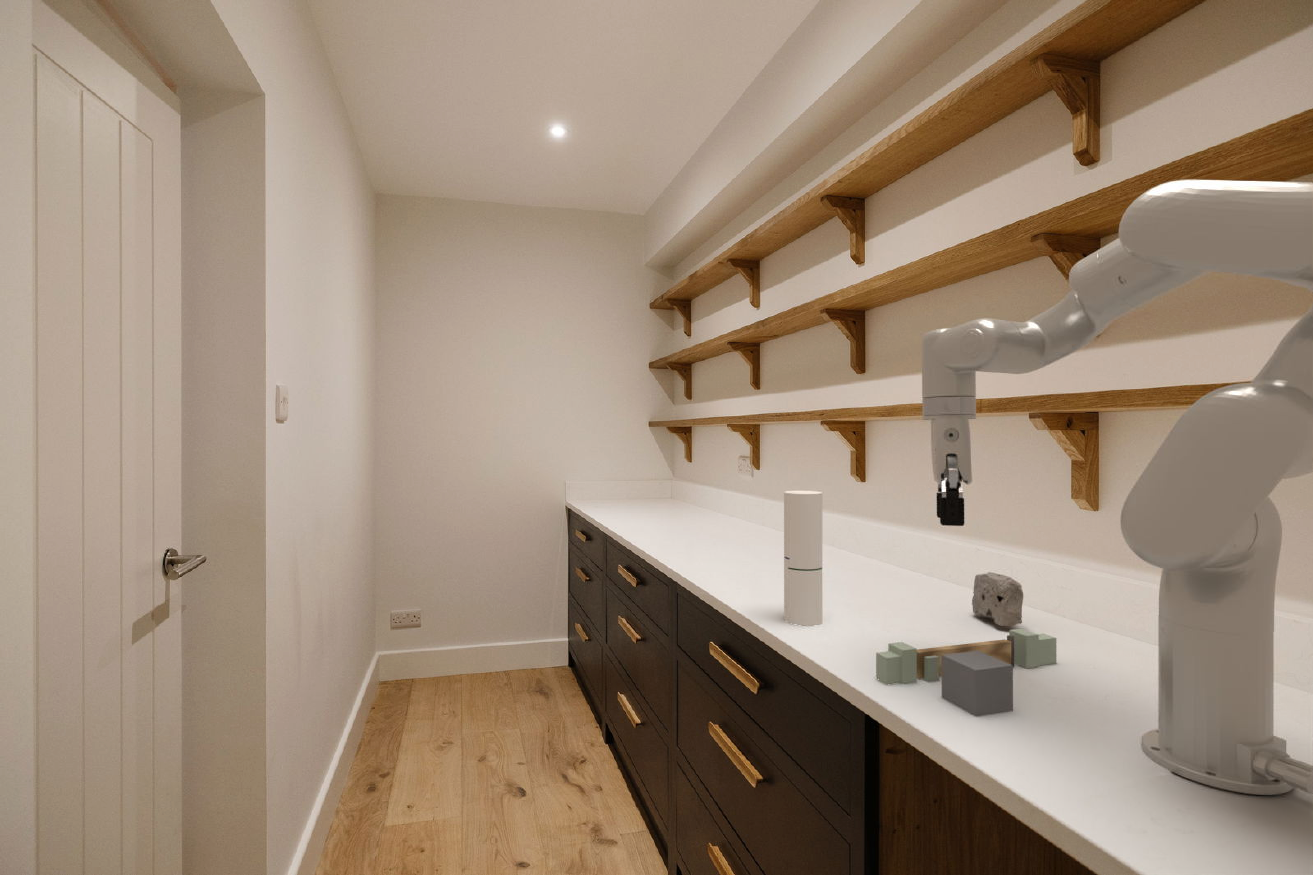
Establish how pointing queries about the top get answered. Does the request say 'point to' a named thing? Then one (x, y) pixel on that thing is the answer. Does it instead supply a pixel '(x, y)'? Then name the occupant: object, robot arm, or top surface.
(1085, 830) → the top surface
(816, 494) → the cylindrical container
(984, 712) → the rectangular block
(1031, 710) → the top surface
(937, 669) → the grey-green stepped bar
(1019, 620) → the stone
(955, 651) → the brown wooden plank
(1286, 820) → the top surface
